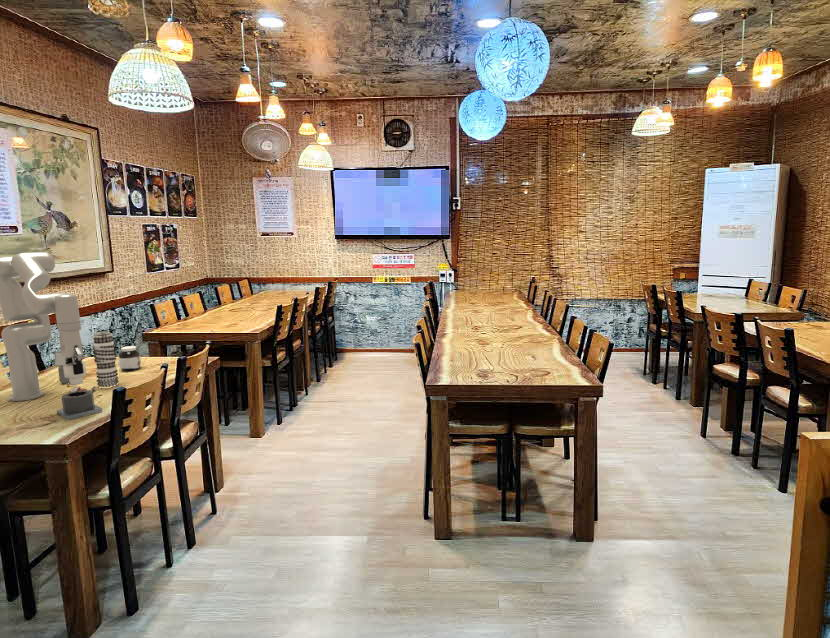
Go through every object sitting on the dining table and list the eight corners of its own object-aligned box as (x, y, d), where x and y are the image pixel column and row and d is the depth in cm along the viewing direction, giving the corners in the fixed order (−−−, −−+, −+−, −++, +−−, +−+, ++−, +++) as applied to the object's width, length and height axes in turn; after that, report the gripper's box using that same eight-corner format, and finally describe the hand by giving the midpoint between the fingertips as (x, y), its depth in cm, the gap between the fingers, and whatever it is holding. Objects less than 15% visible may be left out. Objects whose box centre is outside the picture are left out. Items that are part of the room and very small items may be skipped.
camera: (90, 377, 268) (86, 347, 265) (73, 384, 256) (69, 352, 254) (73, 377, 269) (69, 347, 266) (55, 384, 257) (51, 352, 255)
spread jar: (132, 372, 277) (130, 349, 275) (111, 372, 278) (108, 349, 276) (145, 366, 288) (143, 344, 287) (125, 366, 289) (122, 344, 287)
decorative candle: (123, 383, 256) (118, 330, 252) (112, 388, 247) (106, 333, 243) (104, 383, 257) (98, 330, 253) (92, 389, 247) (86, 334, 243)
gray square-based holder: (57, 413, 214) (54, 394, 213) (90, 405, 223) (88, 387, 222) (67, 420, 206) (65, 400, 205) (102, 411, 215) (100, 393, 214)
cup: (62, 384, 212) (60, 364, 211) (83, 379, 218) (81, 360, 216) (69, 386, 208) (66, 366, 206) (90, 382, 213) (87, 362, 212)
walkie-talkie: (85, 403, 228) (97, 389, 247) (83, 392, 228) (96, 380, 247) (60, 405, 226) (75, 391, 245) (59, 394, 225) (74, 382, 244)
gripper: (50, 326, 212) (56, 371, 215) (65, 330, 201) (72, 378, 203) (72, 323, 218) (78, 367, 220) (88, 327, 206) (94, 373, 209)
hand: (75, 372), depth 212 cm, fingers closed on cup, 7 cm apart
